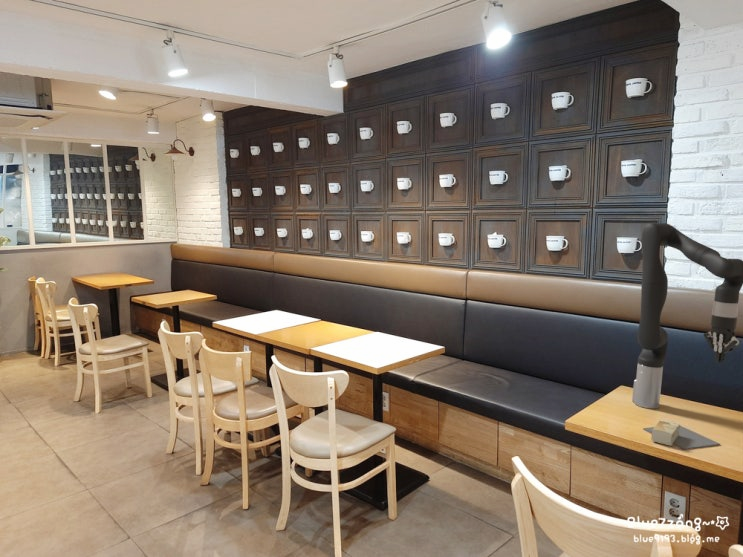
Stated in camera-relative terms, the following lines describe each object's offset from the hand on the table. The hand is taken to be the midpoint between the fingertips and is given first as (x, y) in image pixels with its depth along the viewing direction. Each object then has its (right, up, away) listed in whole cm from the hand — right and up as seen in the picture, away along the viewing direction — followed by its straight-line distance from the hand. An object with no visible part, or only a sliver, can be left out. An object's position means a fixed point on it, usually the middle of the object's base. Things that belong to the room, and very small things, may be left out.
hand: (718, 362), depth 183 cm
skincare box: (-18, -23, 0) cm, 29 cm away
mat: (-15, -26, -2) cm, 30 cm away
